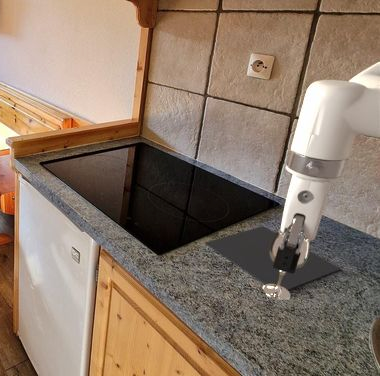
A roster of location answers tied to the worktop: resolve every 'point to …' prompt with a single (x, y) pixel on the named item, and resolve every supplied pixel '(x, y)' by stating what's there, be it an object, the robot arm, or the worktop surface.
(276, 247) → the wineglass
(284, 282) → the placemat
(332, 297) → the worktop surface
